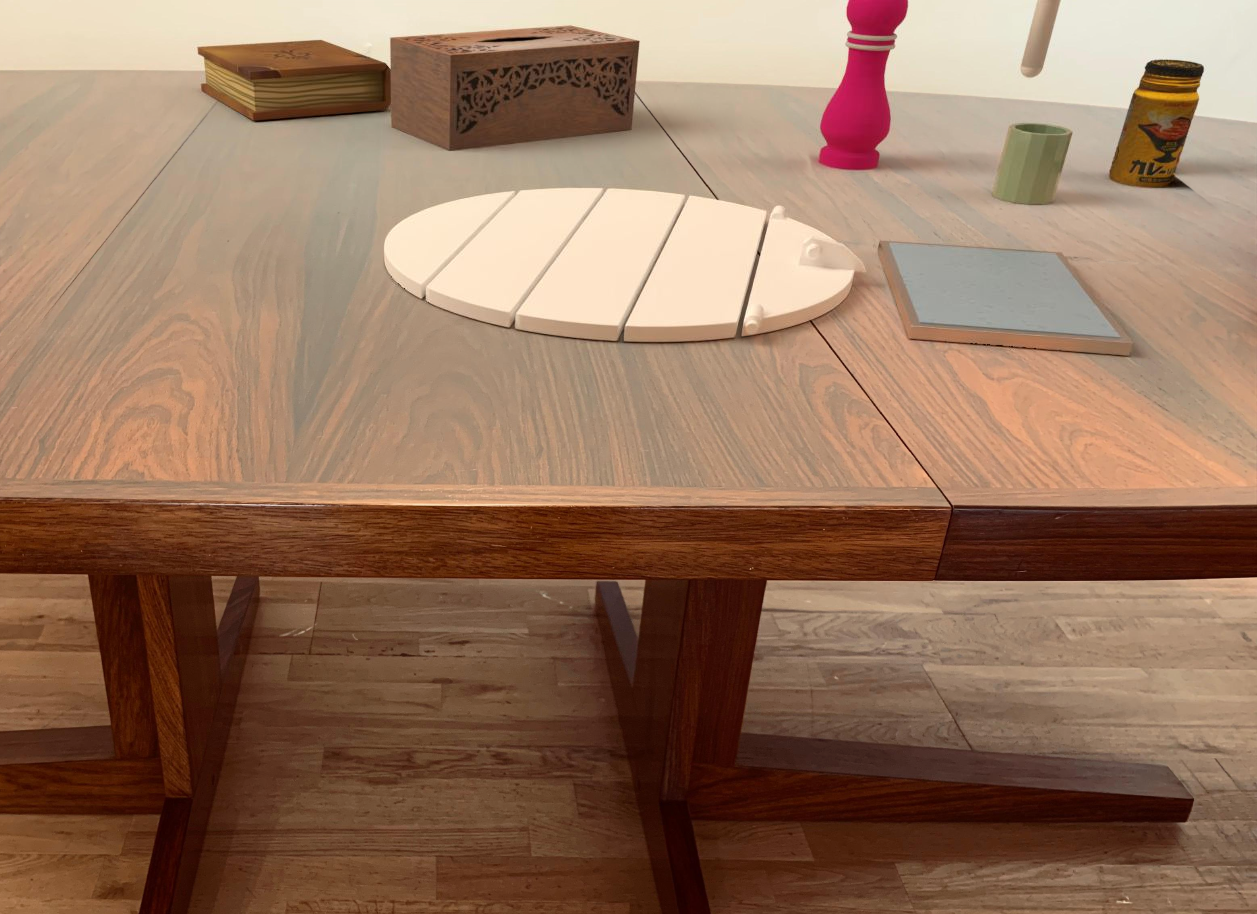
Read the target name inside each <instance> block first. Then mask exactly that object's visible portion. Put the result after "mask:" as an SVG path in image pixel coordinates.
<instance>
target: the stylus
mask: <svg viewBox="0 0 1257 914" xmlns="http://www.w3.org/2000/svg"><path fill="white" fill-rule="evenodd" d="M1060 4H1061V0H1037V2H1036V5H1035V8H1034V13H1033V17H1032V21H1031V24H1030V28H1029V33H1028V36H1027V40H1026V44H1025V47H1024V52H1023V56H1022V60H1021V64H1020V73H1021V74H1022V75H1023V76H1024V77H1025V78H1028V79H1033V78H1035V77H1037V76H1038V75H1040V74H1041V72H1042V71H1043V69H1044V65H1045V62H1046V58H1047V54H1048V50H1049V46H1050V42H1051V38H1052V34H1053V31H1054V27H1055V23H1056V20H1057V16H1058V13H1059V8H1060Z"/></svg>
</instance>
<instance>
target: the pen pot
mask: <svg viewBox="0 0 1257 914" xmlns="http://www.w3.org/2000/svg"><path fill="white" fill-rule="evenodd" d="M1072 136H1073V130H1071V129H1070V128H1068V127H1065V126H1064V127H1063V126H1061V125H1055V124H1050V123H1049V124H1048V123H1040V122H1039V123H1038V122H1017V123H1012V124H1011V125H1009V126H1008V129H1007V133H1006V137H1005V141H1004V144H1003V149H1002V152H1001V156H1000V160H999V164H998V168H997V172H996V176H995V181H994V185H993V188H992V191H991V195H992V196H993V198H994V199H997V200H999V201H1003V202H1006V203H1011V204H1017V205H1024V206H1025V205H1027V206H1043V205H1049V204H1052V203H1053V202H1054V199H1055V196H1056V193H1057V189H1058V186H1059V184H1060V183H1059V182H1060V179H1061V175H1062V172H1063V169H1064V164H1065V161H1066V158H1067V154H1068V151H1069V146H1070V144H1071V140H1072Z"/></svg>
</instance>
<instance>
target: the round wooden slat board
mask: <svg viewBox="0 0 1257 914" xmlns="http://www.w3.org/2000/svg"><path fill="white" fill-rule="evenodd" d="M685 200H686V194H681V193H676V192H675V193H673V192H666V191H655V190H644V189H629V188H627V189H626V188H607V189H606V190H605V192H604V187H559V188H536V189H535V188H534V189H522V190H519V191H518V192H517V193H516V190H510V191H501V192H495V193H487V194H481V195H475V196H470V197H464V198H460V199H456V200H451V201H448V202H443V203H441V204H436V205H433V206H430V207H428V208H425V209H422V210H420V211H418V212H415V213H413V214H411V215H409V216H407V217H406V218H404V219H403V220H400V222H398V223H397V224H396V225H395V226H393V228H392V229H391V230H390V231H389V232H388V234H387V235H386V237H385V239H384V244H383V255H384V256H383V258H384V260H383V261H384V266H385V268H386V271H387V273H388V274H389V275H390V277H391V276H392V277H391V278H392V279H393V280H394V281H395V283H397V284H398V283H399V284H400V285H401V286H400V285H399V284H398V285H399V286H400V287H402V288H403V289H404V288H405V289H404V290H406V291H407V292H408V293H410V294H412V295H413V296H415V297H416V298H419V299H420V300H422V299H423V298H424V297H425V302H426V301H427V303H428V302H429V304H431V305H433V306H435V307H437V308H440V309H443V310H445V311H447V312H451V313H453V314H456V315H459V316H462V317H465V318H469V319H473V320H475V321H479V322H483V323H487V324H491V325H496V326H499V327H505V328H511V326H512V325H513V323H514V329H515V330H519V331H524V332H530V333H536V334H543V335H550V336H557V337H565V338H573V339H574V338H575V339H585V340H596V341H609V342H611V341H613V342H617V341H619V338H620V336H621V334H622V332H623V342H630V343H632V342H636V343H673V342H674V343H676V342H679V343H680V342H698V341H700V342H701V341H712V340H723V339H732V338H735V337H736V335H737V331H738V327H739V324H740V320H741V316H742V312H743V308H744V304H745V301H746V297H747V294H748V289H749V285H750V281H751V278H752V274H753V270H754V266H755V262H756V259H757V255H758V251H759V248H760V244H761V241H762V236H763V232H764V228H765V225H766V219H767V213H768V212H767V210H765V209H760V208H757V207H753V206H748V205H745V204H739V203H735V202H730V201H726V200H721V199H715V198H708V197H703V196H696V195H689V196H688V198H687V200H686V202H685ZM758 259H759V260H758V264H757V266H756V267H757V268H756V271H755V275H754V279H753V283H752V287H751V291H750V295H749V298H748V304H747V307H746V310H745V315H744V318H743V323H742V330H741V337H747V336H754V335H758V334H759V335H760V334H764V333H770V332H774V331H779V330H783V329H787V328H790V327H794V326H797V325H800V324H803V323H806V322H809V321H813V320H814V319H816V318H819V317H821V316H823V315H825V314H827V313H829V312H831V310H833V309H835V308H836V307H838V306H839V305H840V304H841V303H842V302H844V301H845V299H846V298H847V297H848V295H849V294H850V292H851V289H852V285H853V280H854V275H855V273H863V274H865V273H867V269H866V267H865V264H864V262H863V260H862V259H861V258H860V257H858V256H857V254H855V253H854V252H853V251H852V250H851V249H850V248H849V247H847V246H846V245H845V244H844V243H842V242H839V241H836V240H835V239H834V238H832V237H831V236H829V235H828V234H826V233H824V232H823V231H821V230H818V229H816V228H815V227H812V226H810V225H807V224H806V223H803V222H801V221H799V220H796V219H792V218H791V217H787V216H786V208H785V207H784V206H783V205H780V204H779V205H776V206H774V207H773V209H772V212H770V216H769V220H768V224H767V228H766V232H765V236H764V240H763V243H762V247H761V251H760V256H759V258H758ZM623 330H624V331H623Z"/></svg>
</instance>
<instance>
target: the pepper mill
mask: <svg viewBox="0 0 1257 914" xmlns="http://www.w3.org/2000/svg"><path fill="white" fill-rule="evenodd" d="M908 9H909V0H848V2H847V5H846V10H845V11H846V12H845V13H846V19H847V21H848V23H849V25H850V27H851V30H849V31H848V32H847V33H846V36H847V38H846V41H845V43H844V45H845V47H847V48H848V51H847V52H848V53H847V62H846V67H845V71H844V74H843V76H842V79H841V82H840V84H839V85H838V87H837V89H836V91H835V92H834V94H833V95H832V97H831V98H830V100H829V101H828V103H827V105H826V107H825V109H824V110H823V113H822V117H821V120H820V125H819V130H820V133H821V135H822V137H823V139H824V140H825V142H826V145H824V146H822V147H821V148H820V149H819V156H818V163H819V164H820V165H822V166H824V167H827V168H828V167H829V168H833V169H838V170H846V171H868V170H874V169H876V168H878V165H879V161H880V157H881V153H880V152H879V150H877V147H878V145H880V144H881V143H882V142H883V141H884V140H885V139H887V137H888V136H889V133H890V129H891V123H892V122H891V121H892V118H891V117H892V116H891V108H890V103H889V100H888V95H887V90H886V83H885V80H886V79H885V77H886V76H885V75H886V69H887V63H888V59H889V56H890V52H891V51H892V50H894V49H895V48H896V44H895V43H896V40H897V38H898V34H897V33H895V31H896V30H897V28H898V27H899V26H900V25H901V24H902V23H903V22H904V21H905V19H906V17H907V14H908Z"/></svg>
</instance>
